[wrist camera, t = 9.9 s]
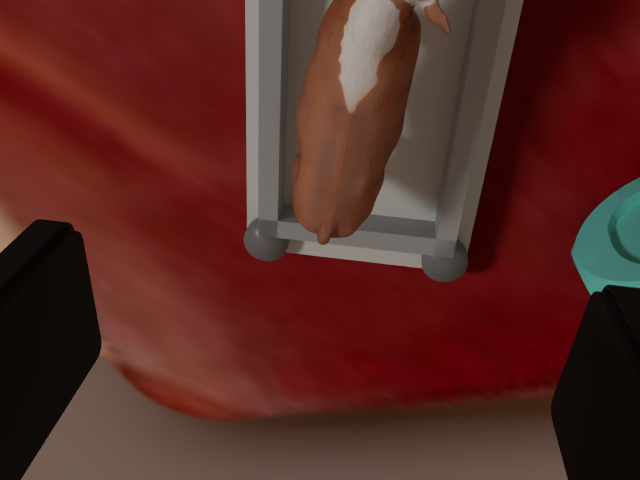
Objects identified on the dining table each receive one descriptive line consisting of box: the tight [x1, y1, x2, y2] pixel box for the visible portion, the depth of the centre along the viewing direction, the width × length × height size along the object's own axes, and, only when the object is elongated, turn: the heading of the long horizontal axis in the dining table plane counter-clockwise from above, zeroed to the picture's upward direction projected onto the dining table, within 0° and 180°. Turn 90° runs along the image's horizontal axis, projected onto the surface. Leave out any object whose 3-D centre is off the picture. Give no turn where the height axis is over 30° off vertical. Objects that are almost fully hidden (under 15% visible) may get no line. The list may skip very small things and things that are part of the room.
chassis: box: [244, 0, 523, 282], centre depth 27 cm, size 22×12×3 cm, turn 177°
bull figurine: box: [291, 0, 452, 245], centre depth 24 cm, size 4×13×8 cm, turn 163°
